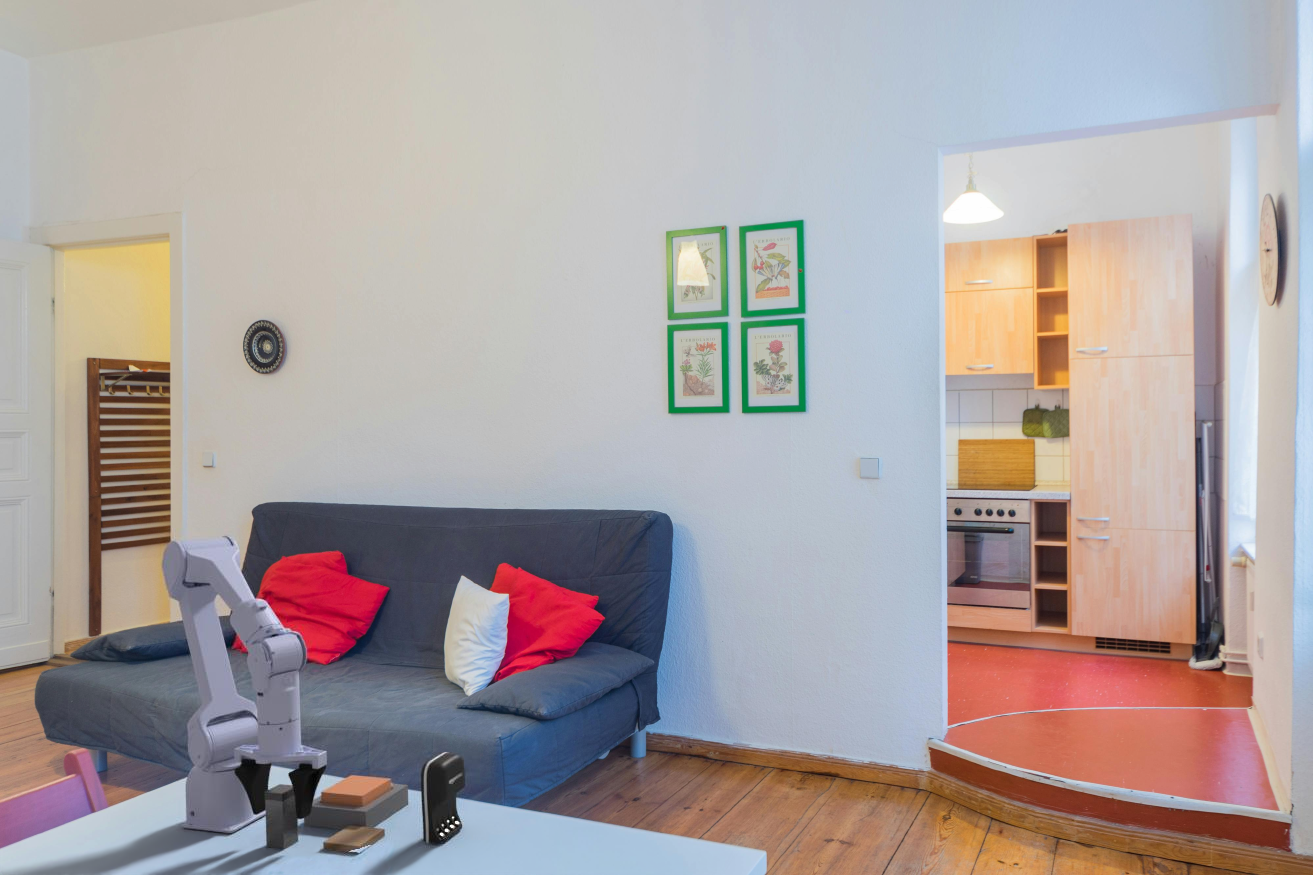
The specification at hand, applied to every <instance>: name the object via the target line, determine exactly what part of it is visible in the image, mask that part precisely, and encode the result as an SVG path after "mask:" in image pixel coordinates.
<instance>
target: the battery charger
mask: <svg viewBox="0 0 1313 875" xmlns="http://www.w3.org/2000/svg"><path fill="white" fill-rule="evenodd" d="M465 769H466V768H465V761H464V758H463V756H462V755H460V754H457V753H453V752H452V753H450V752H447V751H445V752H441V753H439V754H437V755H435V756H434V757H432V758H429V759H428V760H427V761H425V763H424V764H423V765H422V768H421V773H420V790H421V791H420V792H421V793H420V794H421V796H420V798H421V813H422V837H423V838H422V841H423V842H424V843H426V844H435V845H436V844H444V843H445V842H447V841H448V840H449V839H451V838H452V837H454V836H455V835H457V833H459V832H460V831H461V830H462V829H463V823H462V821H461V818H460V816H459V814H458V813H459V812H458V809H457V793H458V792H459V793H460V791H461V790H463V789H464V788H466V770H465Z"/></svg>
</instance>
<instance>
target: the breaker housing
mask: <svg viewBox="0 0 1313 875" xmlns="http://www.w3.org/2000/svg"><path fill="white" fill-rule="evenodd" d="M408 805H409V785H408V784H402V783H401V784H400V783H393V782H391V790H390V791H388V792H386V793H385V794H383V795H382V796H380V797H378V798H377V799H375V800H374V801H372V802H370V803H369V804H367V805H366V806H364V807H358V806H348V805H339V804H329V803H321V795H319V796H318V797H316V798H314V799H313V804H312V809H311V814H310V815H308V816H306V817H305V818H303V825H304V826H306V827H314V828H315V827H317V828H324V829H325V828H326V829H335V830H343V829H344V828H346V827H348V826H349V825H353V826H362V827H371V828H376V826H378V825H379V824H381V823H382V822H383V821H385V820H387V819H388V818H390V817H391V816H393V815H394V814H396V813H397V812H398V811H400V810H402V809H403V808H404V807H406V806H408Z"/></svg>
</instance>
